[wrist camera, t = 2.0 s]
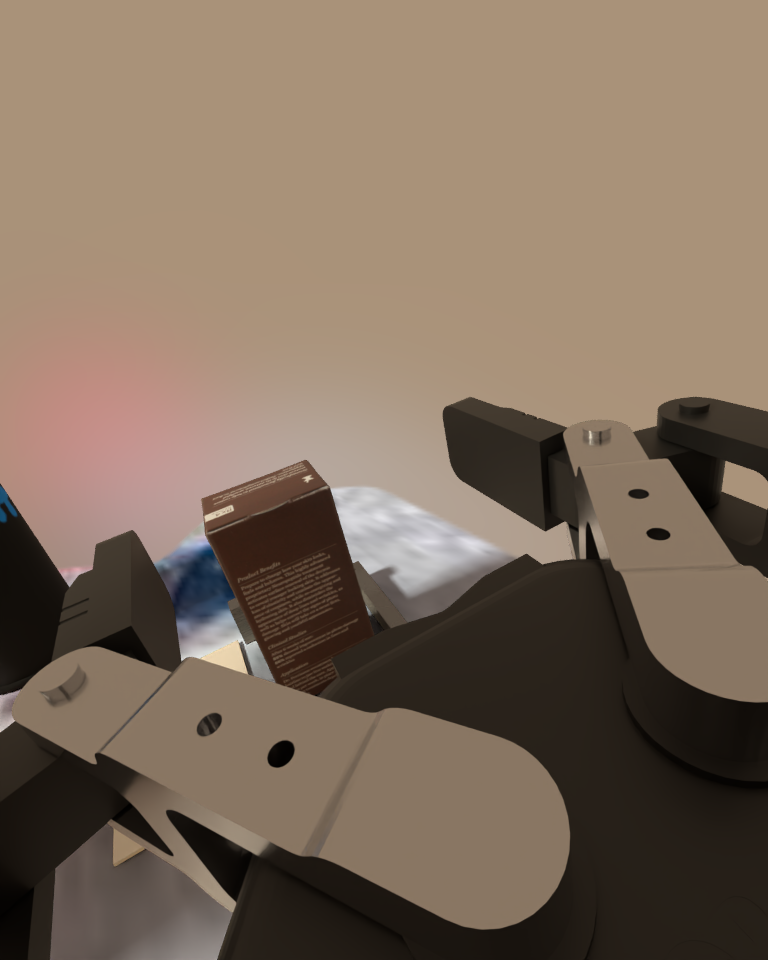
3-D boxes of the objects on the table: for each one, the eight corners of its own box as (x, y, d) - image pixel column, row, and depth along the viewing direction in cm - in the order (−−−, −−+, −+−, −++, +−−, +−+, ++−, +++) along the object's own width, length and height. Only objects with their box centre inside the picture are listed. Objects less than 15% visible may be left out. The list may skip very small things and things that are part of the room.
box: (357, 616, 32) (308, 455, 26) (384, 664, 28) (334, 487, 22) (269, 657, 30) (196, 494, 25) (285, 714, 27) (204, 536, 21)
